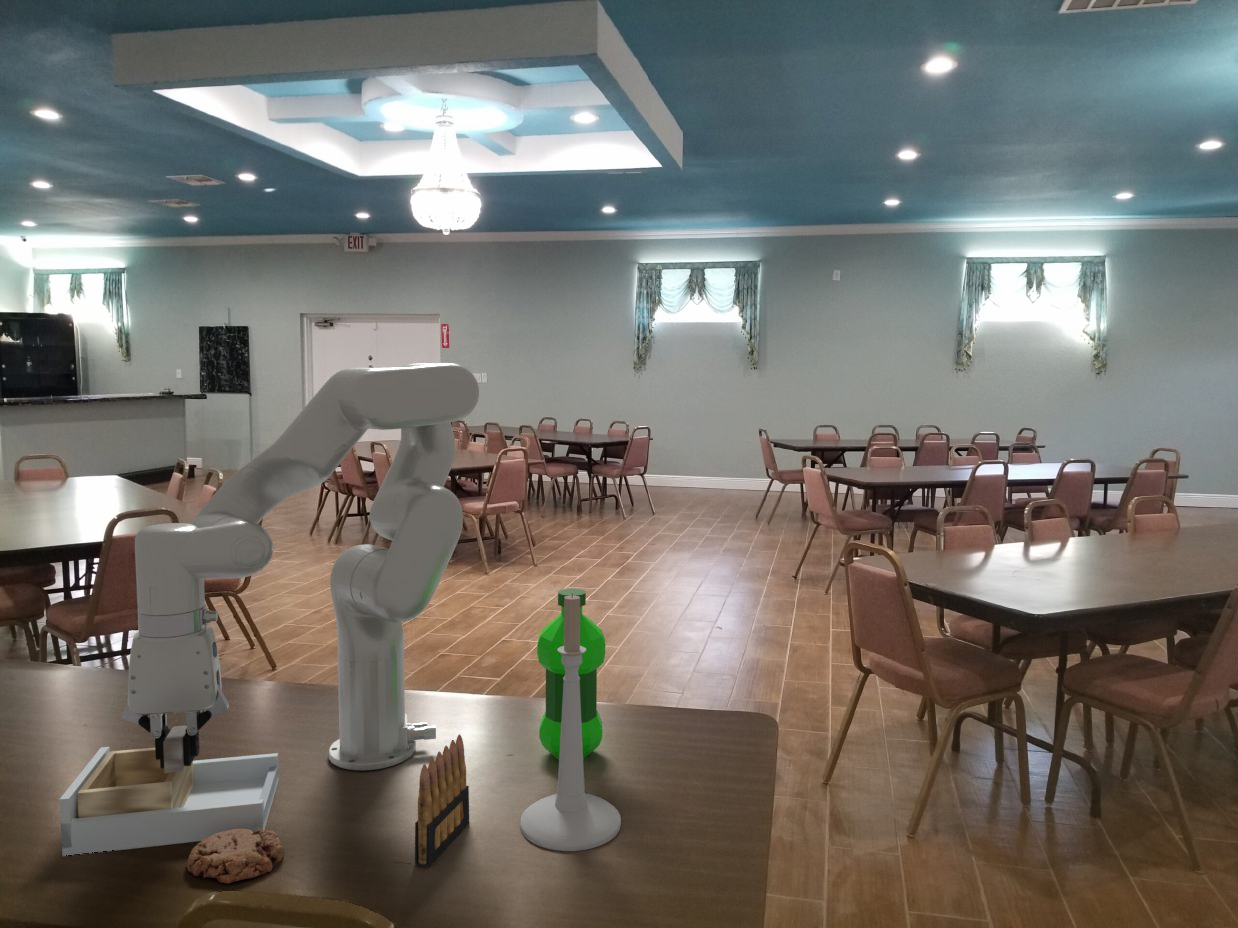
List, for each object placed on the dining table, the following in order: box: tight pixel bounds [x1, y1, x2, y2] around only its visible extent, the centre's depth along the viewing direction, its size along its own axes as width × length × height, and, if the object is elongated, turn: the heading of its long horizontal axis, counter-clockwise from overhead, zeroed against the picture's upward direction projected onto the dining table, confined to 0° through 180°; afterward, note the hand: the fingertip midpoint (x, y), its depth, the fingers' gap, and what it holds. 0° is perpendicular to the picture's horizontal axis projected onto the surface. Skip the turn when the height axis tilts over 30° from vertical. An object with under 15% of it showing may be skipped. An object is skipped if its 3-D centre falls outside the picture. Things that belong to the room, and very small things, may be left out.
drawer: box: [77, 724, 194, 818], centre depth 109 cm, size 11×12×10 cm
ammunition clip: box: [414, 734, 470, 869], centre depth 104 cm, size 11×2×12 cm, turn 164°
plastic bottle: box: [536, 588, 606, 760], centre depth 129 cm, size 10×10×25 cm
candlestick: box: [519, 594, 622, 852], centre depth 108 cm, size 13×13×30 cm
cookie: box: [186, 829, 285, 884], centre depth 100 cm, size 10×11×3 cm
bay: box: [58, 746, 280, 857], centre depth 110 cm, size 22×15×7 cm, turn 104°
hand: (178, 761), depth 110 cm, fingers closed on drawer, 2 cm apart
